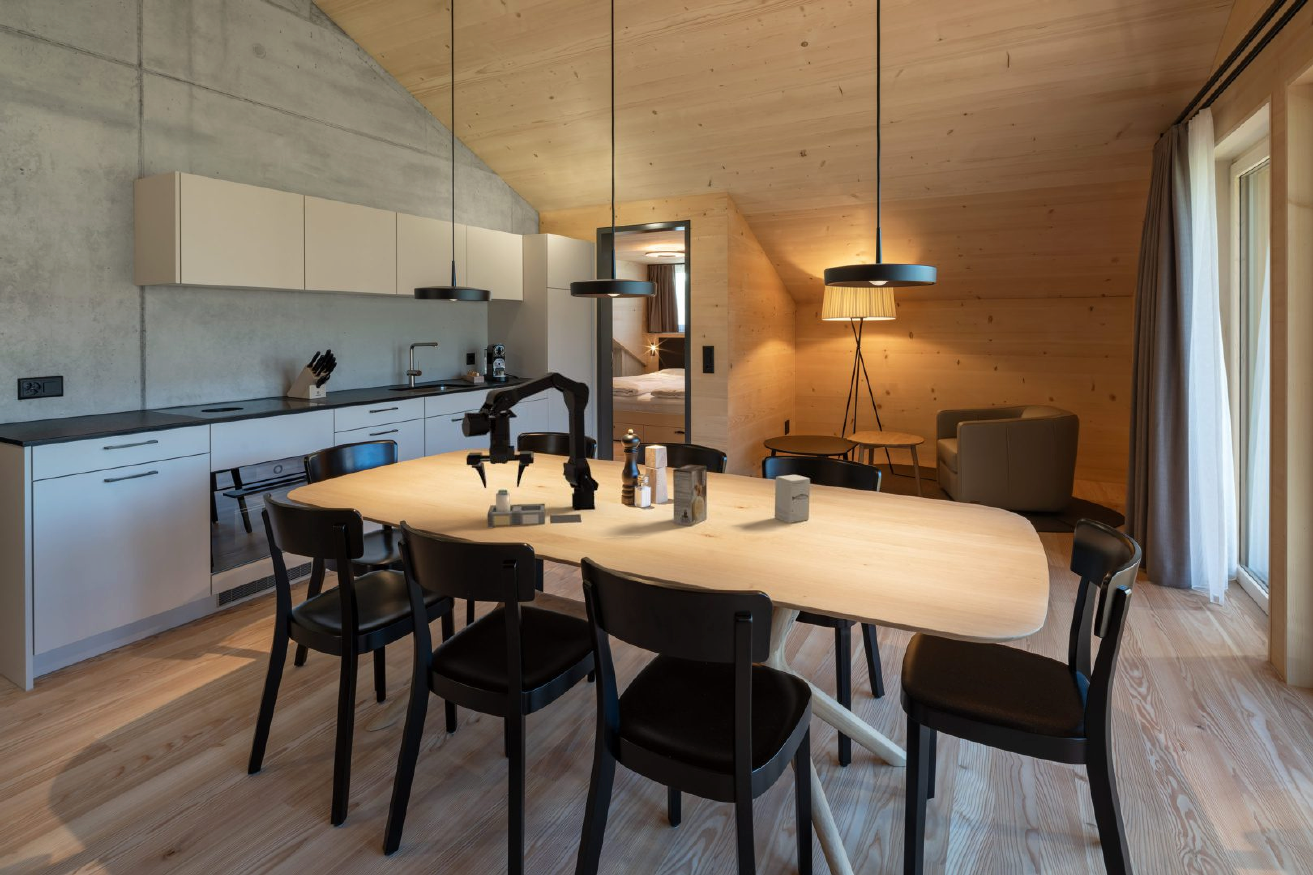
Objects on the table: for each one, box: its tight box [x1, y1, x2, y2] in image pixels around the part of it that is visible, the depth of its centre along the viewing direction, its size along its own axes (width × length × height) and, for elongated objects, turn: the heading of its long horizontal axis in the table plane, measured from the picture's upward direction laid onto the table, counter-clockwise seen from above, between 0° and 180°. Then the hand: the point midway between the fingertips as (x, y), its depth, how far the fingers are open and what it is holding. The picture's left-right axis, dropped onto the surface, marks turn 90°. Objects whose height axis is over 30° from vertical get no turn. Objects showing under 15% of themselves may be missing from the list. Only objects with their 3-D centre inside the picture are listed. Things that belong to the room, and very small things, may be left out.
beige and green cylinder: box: [495, 489, 511, 512], centre depth 214 cm, size 4×4×9 cm
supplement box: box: [774, 474, 811, 524], centre depth 216 cm, size 7×7×13 cm
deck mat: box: [549, 513, 582, 524], centre depth 217 cm, size 9×9×1 cm
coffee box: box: [672, 464, 708, 527], centre depth 214 cm, size 9×6×16 cm
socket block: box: [486, 503, 546, 529], centre depth 215 cm, size 16×10×4 cm, turn 98°
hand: (501, 487), depth 213 cm, fingers open, 9 cm apart
